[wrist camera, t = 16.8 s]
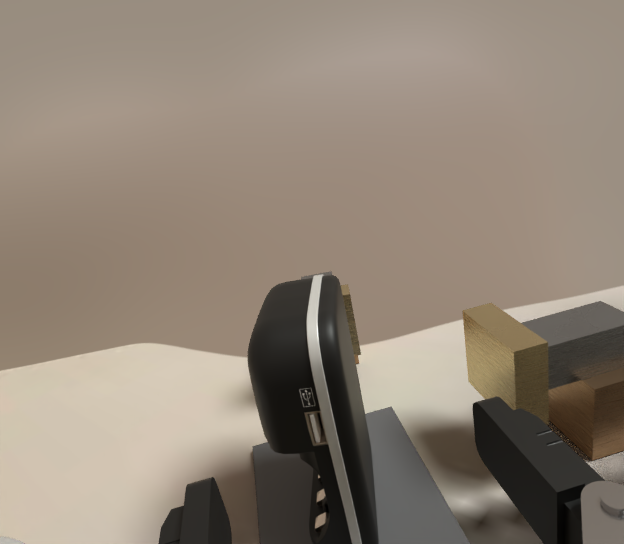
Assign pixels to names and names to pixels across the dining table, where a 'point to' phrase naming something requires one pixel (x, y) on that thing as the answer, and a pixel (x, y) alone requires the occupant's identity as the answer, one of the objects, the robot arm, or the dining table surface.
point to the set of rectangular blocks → (548, 367)
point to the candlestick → (9, 541)
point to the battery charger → (316, 404)
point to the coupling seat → (387, 481)
